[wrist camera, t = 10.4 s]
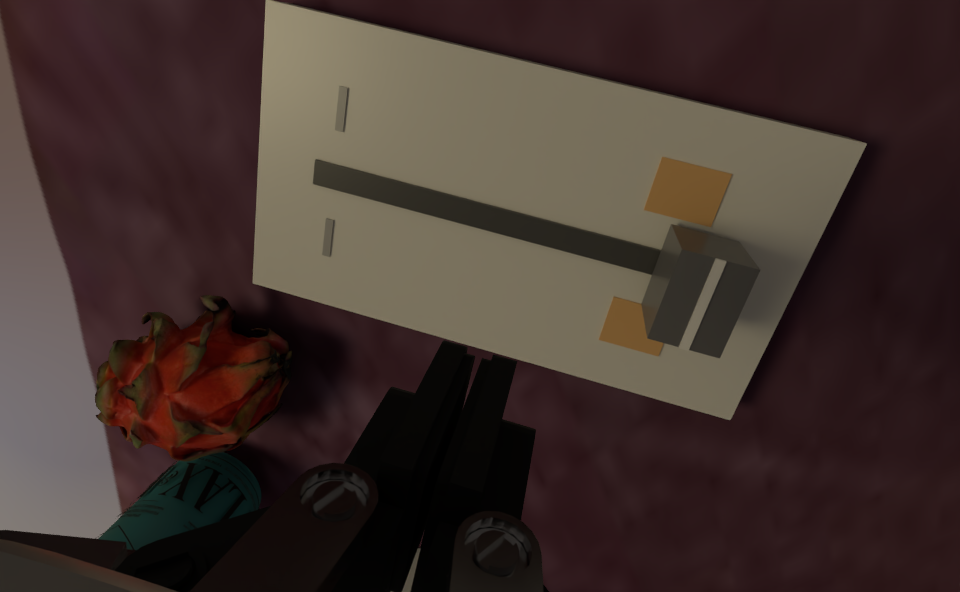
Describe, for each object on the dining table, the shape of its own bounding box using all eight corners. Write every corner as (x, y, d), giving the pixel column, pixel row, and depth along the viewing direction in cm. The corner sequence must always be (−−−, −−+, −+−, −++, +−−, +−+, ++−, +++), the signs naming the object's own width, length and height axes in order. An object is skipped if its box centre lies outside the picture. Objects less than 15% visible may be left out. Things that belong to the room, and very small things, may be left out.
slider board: (288, 3, 27) (263, -2, 25) (847, 137, 25) (869, 144, 23) (271, 270, 33) (250, 284, 31) (722, 398, 31) (730, 422, 29)
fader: (670, 223, 25) (682, 250, 22) (739, 241, 25) (761, 271, 21) (641, 303, 27) (647, 339, 23) (704, 320, 26) (720, 359, 23)
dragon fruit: (161, 344, 39) (326, 304, 37) (164, 473, 36) (341, 437, 35) (46, 317, 30) (251, 265, 29) (40, 482, 28) (264, 435, 26)
